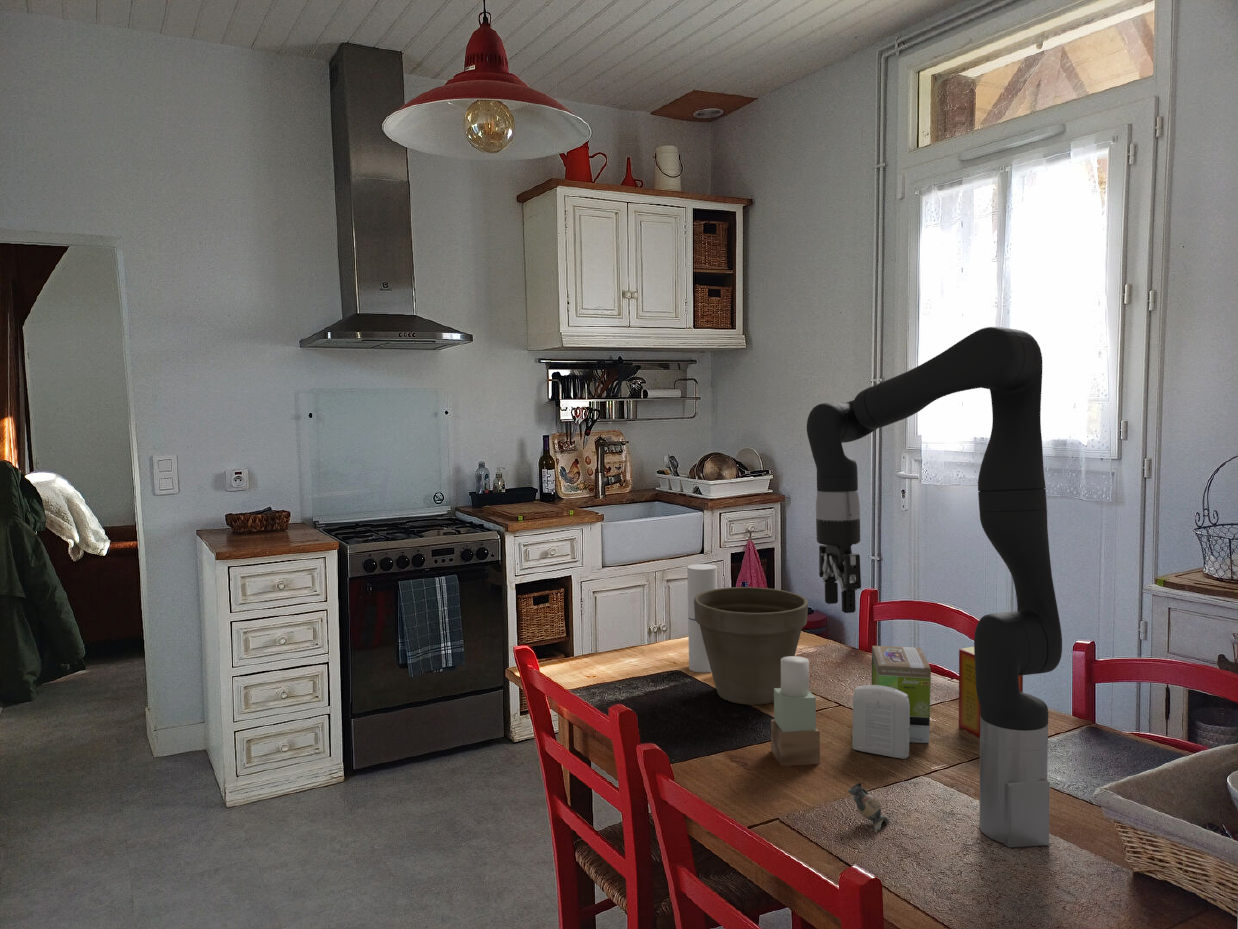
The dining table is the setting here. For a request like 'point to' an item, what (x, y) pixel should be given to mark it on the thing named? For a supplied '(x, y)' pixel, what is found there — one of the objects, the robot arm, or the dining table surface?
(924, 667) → the tea box
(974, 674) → the baking soda box
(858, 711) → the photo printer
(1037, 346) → the robot arm
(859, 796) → the animal figurine
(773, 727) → the tower base
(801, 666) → the white cylinder peg
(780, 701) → the tower top
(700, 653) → the cylindrical container
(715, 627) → the plant pot
